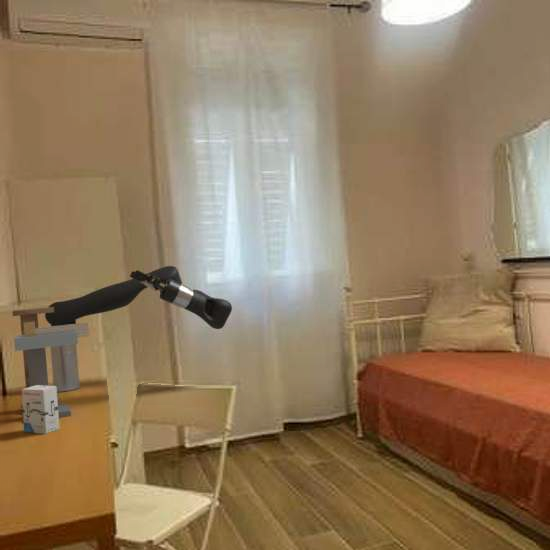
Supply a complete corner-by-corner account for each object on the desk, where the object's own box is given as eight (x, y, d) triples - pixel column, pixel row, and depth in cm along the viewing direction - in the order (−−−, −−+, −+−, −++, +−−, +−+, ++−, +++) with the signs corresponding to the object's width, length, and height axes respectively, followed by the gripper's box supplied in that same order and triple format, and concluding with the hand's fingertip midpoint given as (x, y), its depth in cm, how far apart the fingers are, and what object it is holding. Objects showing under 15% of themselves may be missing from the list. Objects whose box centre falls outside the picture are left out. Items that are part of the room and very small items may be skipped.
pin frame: (22, 415, 181) (16, 335, 182) (80, 406, 188) (74, 329, 188) (21, 424, 168) (14, 338, 168) (83, 414, 174) (76, 332, 174)
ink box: (23, 432, 158) (19, 388, 158) (38, 427, 162) (35, 385, 162) (45, 434, 154) (42, 389, 154) (60, 429, 158) (57, 385, 158)
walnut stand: (21, 409, 191) (13, 310, 191) (61, 403, 195) (53, 307, 195) (20, 414, 182) (12, 311, 183) (62, 408, 187) (53, 307, 187)
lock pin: (25, 342, 178) (24, 322, 178) (87, 335, 185) (86, 316, 185) (25, 343, 173) (23, 323, 173) (89, 336, 180) (87, 316, 180)
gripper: (176, 304, 194) (131, 283, 189) (167, 303, 207) (125, 283, 202) (186, 283, 195) (141, 261, 190) (176, 284, 208) (134, 264, 203)
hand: (132, 273), depth 196 cm, fingers open, 8 cm apart
